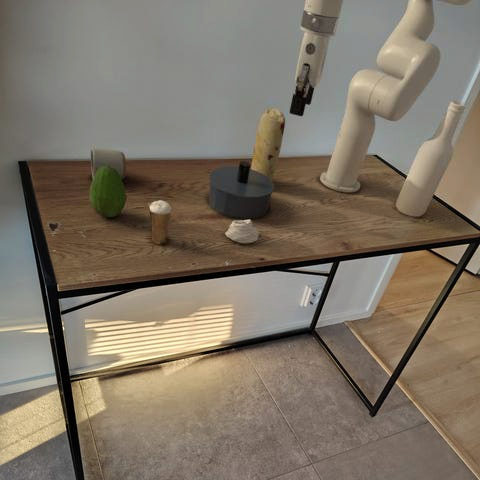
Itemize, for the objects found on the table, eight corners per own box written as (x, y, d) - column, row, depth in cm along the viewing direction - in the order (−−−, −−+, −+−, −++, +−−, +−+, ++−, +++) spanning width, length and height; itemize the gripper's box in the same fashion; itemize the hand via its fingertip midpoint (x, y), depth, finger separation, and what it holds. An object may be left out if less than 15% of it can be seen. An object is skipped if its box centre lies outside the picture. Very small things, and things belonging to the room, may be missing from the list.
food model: (276, 190, 126) (293, 118, 112) (255, 190, 123) (269, 117, 110) (265, 175, 132) (280, 105, 119) (244, 174, 130) (257, 103, 117)
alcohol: (390, 208, 129) (436, 100, 109) (400, 199, 135) (446, 95, 115) (417, 220, 126) (471, 111, 106) (427, 211, 132) (479, 106, 112)
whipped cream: (231, 249, 101) (234, 233, 97) (218, 232, 105) (221, 215, 101) (261, 243, 104) (264, 226, 100) (248, 226, 108) (251, 209, 104)
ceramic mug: (127, 184, 114) (126, 155, 109) (94, 185, 111) (92, 155, 106) (120, 167, 121) (119, 139, 116) (89, 167, 118) (87, 138, 113)
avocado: (115, 227, 99) (114, 176, 91) (84, 217, 99) (79, 166, 91) (132, 212, 104) (132, 163, 96) (102, 202, 105) (99, 154, 97)
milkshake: (147, 232, 99) (148, 192, 92) (170, 236, 99) (173, 196, 93) (143, 243, 96) (143, 202, 89) (167, 247, 96) (170, 206, 89)
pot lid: (221, 164, 120) (223, 144, 116) (279, 181, 118) (284, 160, 114) (199, 188, 107) (201, 166, 104) (264, 207, 106) (269, 185, 102)
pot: (219, 184, 123) (222, 163, 119) (273, 199, 121) (278, 179, 117) (200, 207, 111) (202, 186, 107) (259, 225, 110) (263, 203, 106)
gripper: (330, 34, 86) (308, 123, 97) (341, 22, 98) (321, 102, 110) (293, 25, 86) (276, 115, 98) (309, 15, 99) (292, 95, 111)
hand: (300, 108), depth 104 cm, fingers open, 9 cm apart
